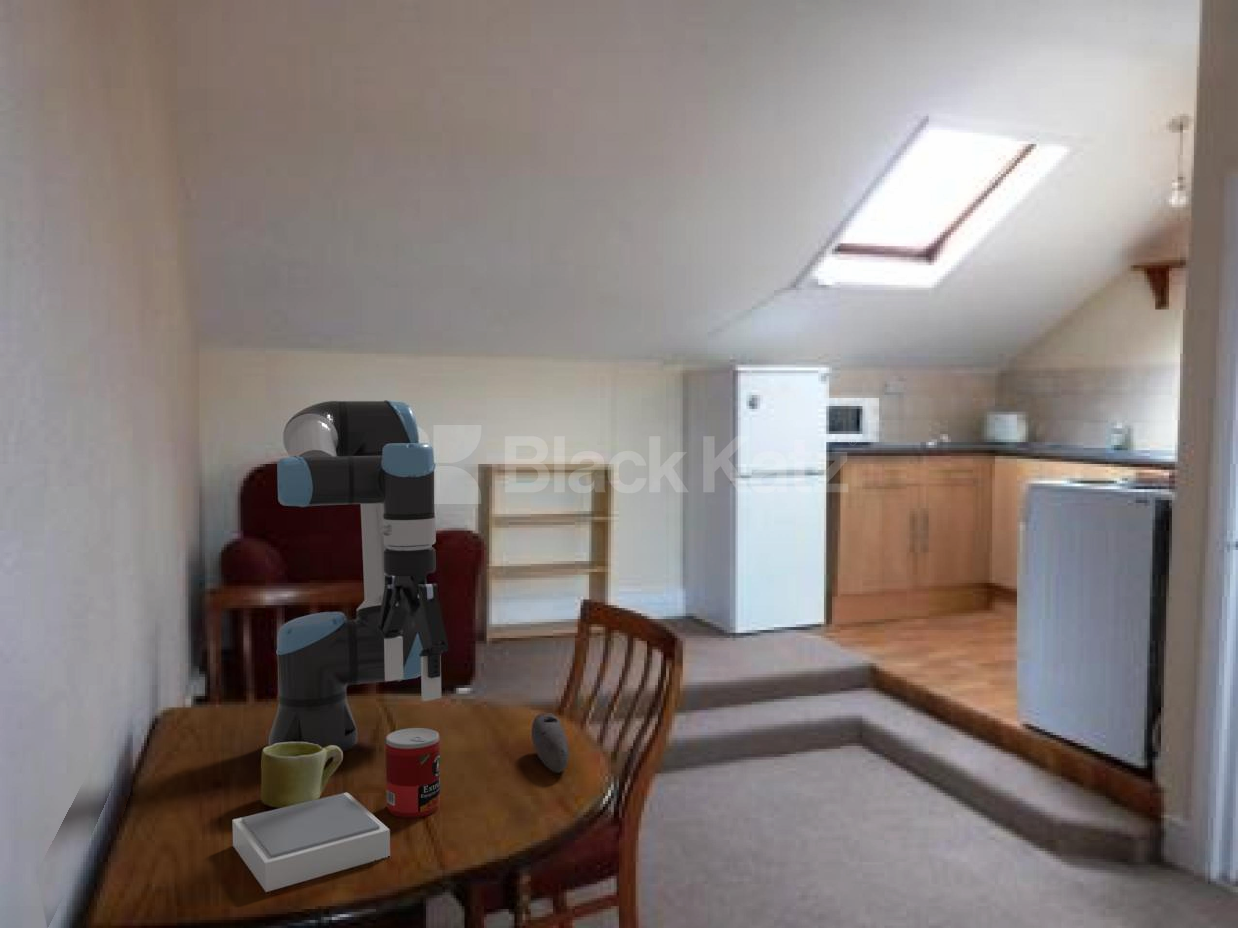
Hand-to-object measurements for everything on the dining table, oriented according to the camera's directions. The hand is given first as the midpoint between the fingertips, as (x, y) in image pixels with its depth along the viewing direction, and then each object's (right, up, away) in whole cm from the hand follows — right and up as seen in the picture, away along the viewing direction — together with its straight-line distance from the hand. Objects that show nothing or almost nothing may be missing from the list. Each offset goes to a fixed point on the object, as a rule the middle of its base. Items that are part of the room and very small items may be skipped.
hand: (412, 689), depth 139 cm
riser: (-11, -19, -13) cm, 25 cm away
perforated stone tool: (+19, -18, +19) cm, 32 cm away
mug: (-18, -18, +5) cm, 26 cm away
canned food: (0, -18, +1) cm, 18 cm away
